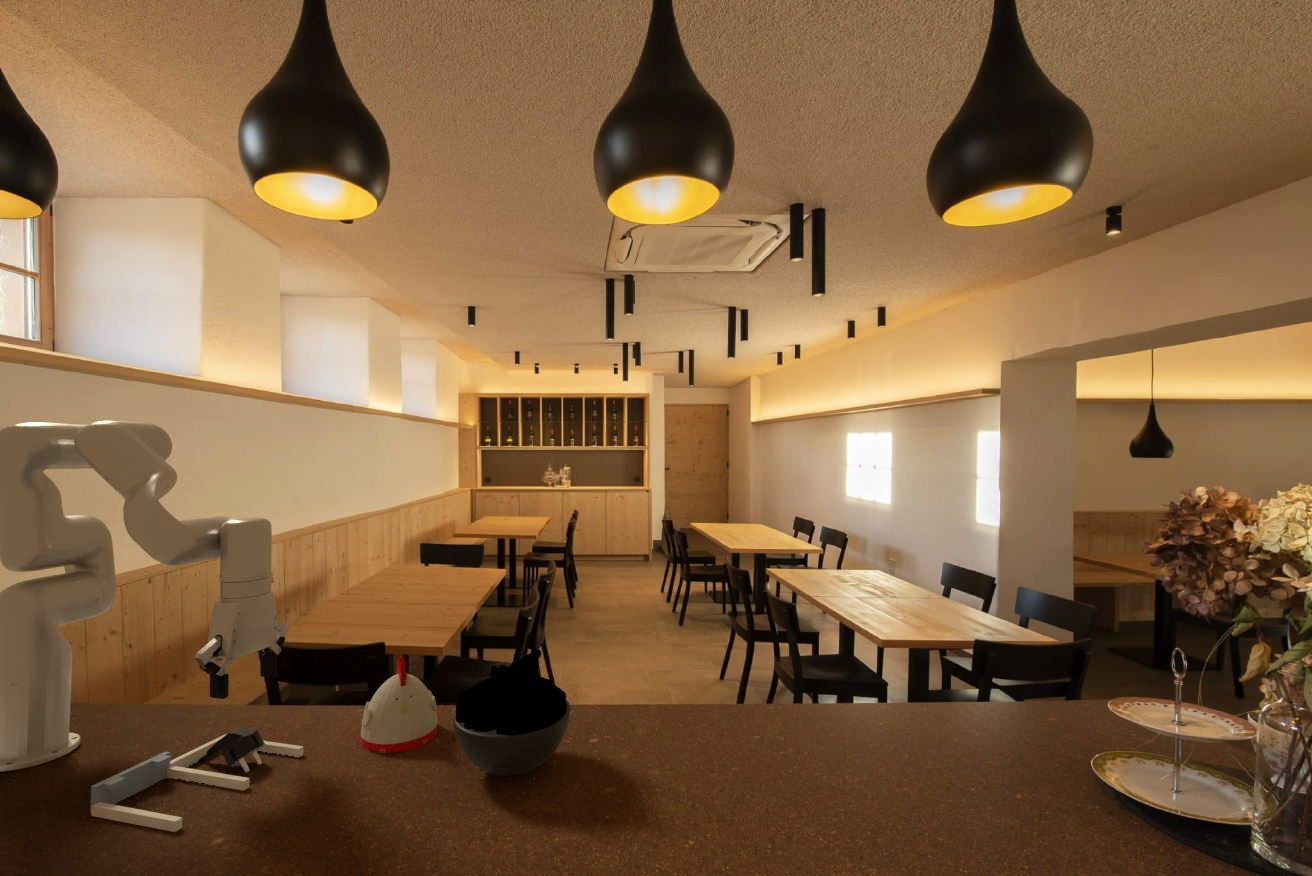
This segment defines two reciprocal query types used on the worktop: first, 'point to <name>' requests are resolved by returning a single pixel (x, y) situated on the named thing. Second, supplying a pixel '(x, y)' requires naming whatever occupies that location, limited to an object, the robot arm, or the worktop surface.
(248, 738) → the power plug
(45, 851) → the worktop surface
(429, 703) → the kitchen timer
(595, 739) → the worktop surface
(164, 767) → the cable organizer
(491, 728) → the coal bowl
